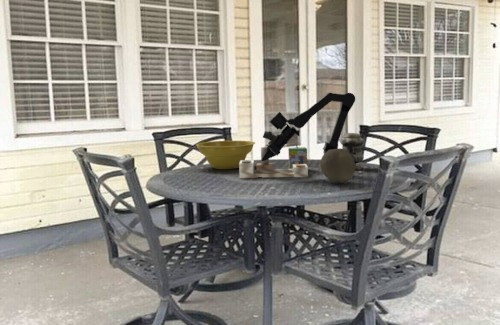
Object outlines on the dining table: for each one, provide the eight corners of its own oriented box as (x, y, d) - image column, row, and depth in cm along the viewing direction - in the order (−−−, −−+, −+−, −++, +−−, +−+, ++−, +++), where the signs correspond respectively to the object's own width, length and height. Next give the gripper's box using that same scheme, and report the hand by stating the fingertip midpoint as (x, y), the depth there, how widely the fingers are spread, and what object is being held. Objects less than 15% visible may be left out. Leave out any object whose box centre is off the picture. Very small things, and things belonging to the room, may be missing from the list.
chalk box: (307, 171, 256) (307, 141, 254) (289, 171, 256) (289, 142, 255) (306, 168, 265) (305, 140, 263) (288, 169, 266) (288, 140, 264)
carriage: (273, 167, 249) (272, 146, 247) (273, 169, 241) (273, 148, 239) (257, 168, 249) (256, 146, 248) (256, 170, 241) (255, 148, 240)
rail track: (306, 173, 250) (306, 157, 249) (308, 176, 238) (307, 160, 237) (241, 174, 252) (240, 159, 251) (239, 178, 240) (239, 162, 239)
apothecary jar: (364, 170, 254) (364, 134, 252) (339, 170, 256) (339, 134, 254) (362, 166, 266) (362, 132, 264) (339, 167, 268) (339, 132, 266)
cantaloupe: (343, 179, 227) (343, 146, 225) (361, 184, 214) (361, 148, 212) (315, 182, 222) (314, 148, 220) (331, 187, 209) (331, 151, 207)
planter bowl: (244, 172, 258) (243, 146, 257) (186, 171, 269) (185, 145, 267) (263, 164, 289) (262, 140, 287) (211, 163, 299) (210, 140, 297)
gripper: (272, 123, 251) (250, 146, 253) (272, 125, 233) (248, 150, 235) (288, 139, 252) (266, 162, 254) (290, 142, 233) (266, 167, 235)
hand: (262, 160), depth 244 cm, fingers closed on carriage, 4 cm apart
